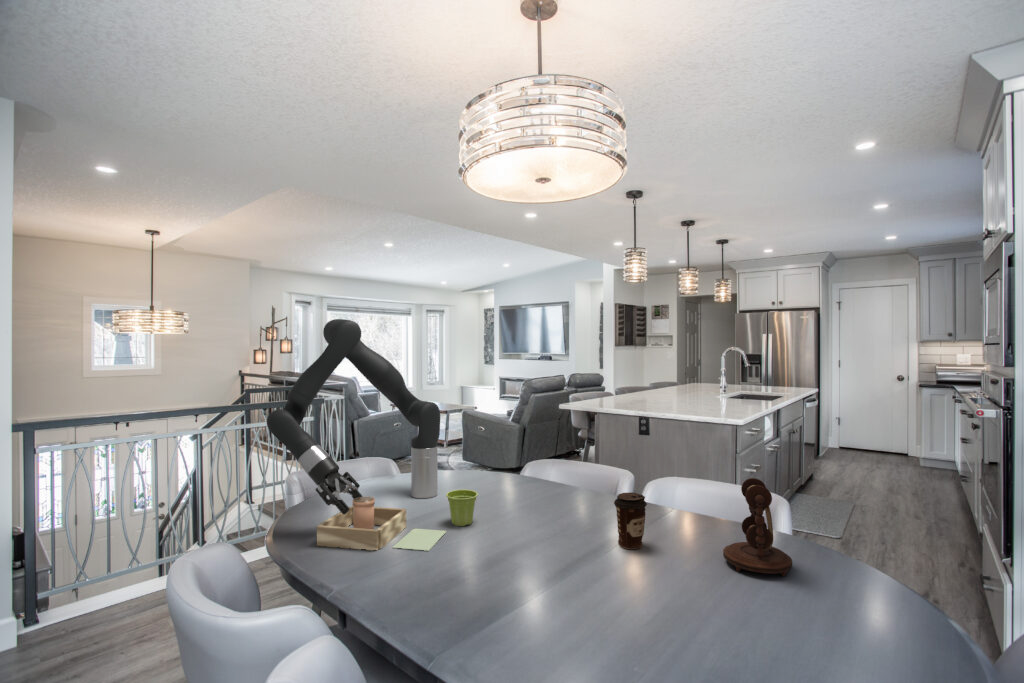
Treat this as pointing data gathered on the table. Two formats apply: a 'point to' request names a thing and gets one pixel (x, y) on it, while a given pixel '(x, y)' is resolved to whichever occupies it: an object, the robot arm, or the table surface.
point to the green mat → (420, 539)
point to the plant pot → (462, 506)
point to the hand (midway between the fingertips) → (355, 507)
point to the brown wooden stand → (757, 535)
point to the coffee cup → (630, 519)
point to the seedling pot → (363, 512)
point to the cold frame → (361, 530)
